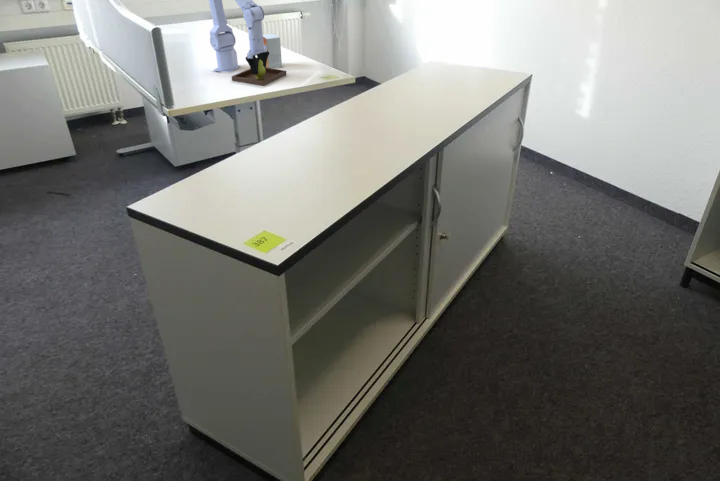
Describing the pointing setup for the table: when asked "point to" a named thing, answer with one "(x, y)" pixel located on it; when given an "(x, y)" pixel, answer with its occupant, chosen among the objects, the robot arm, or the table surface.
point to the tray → (251, 79)
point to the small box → (273, 50)
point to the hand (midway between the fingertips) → (259, 71)
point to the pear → (260, 70)
